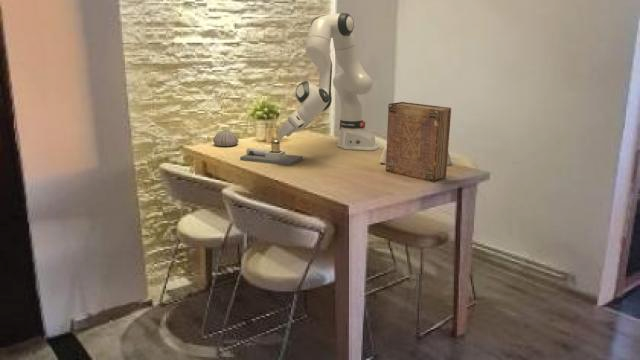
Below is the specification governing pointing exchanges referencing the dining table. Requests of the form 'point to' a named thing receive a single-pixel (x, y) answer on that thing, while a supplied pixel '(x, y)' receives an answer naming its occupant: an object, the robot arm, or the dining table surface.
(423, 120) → the book
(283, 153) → the pipe board
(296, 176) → the dining table surface
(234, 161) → the dining table surface
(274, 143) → the brass valve
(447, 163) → the flask
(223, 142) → the sea urchin shell
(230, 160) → the dining table surface
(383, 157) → the faucet
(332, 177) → the dining table surface
